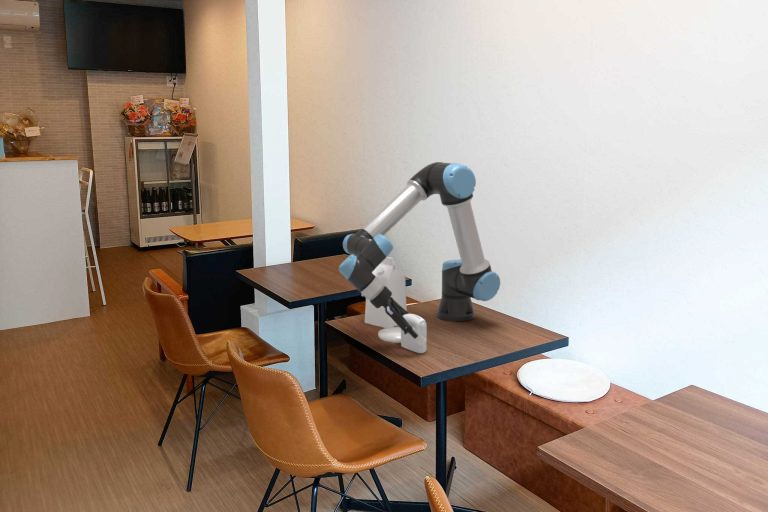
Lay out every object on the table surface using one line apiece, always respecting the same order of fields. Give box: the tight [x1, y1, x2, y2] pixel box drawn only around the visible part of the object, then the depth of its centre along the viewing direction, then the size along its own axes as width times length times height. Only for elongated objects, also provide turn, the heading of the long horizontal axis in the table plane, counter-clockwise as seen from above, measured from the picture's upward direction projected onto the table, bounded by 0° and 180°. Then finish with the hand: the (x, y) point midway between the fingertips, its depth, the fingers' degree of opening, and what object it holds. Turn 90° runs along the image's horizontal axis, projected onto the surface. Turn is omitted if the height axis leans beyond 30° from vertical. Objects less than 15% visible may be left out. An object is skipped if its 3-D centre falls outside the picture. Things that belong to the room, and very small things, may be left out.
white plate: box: [377, 326, 401, 344], centre depth 239 cm, size 15×15×1 cm
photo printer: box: [400, 313, 428, 354], centre depth 224 cm, size 10×4×12 cm, turn 39°
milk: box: [364, 256, 408, 329], centre depth 254 cm, size 12×12×26 cm
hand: (422, 338), depth 225 cm, fingers closed on photo printer, 9 cm apart
